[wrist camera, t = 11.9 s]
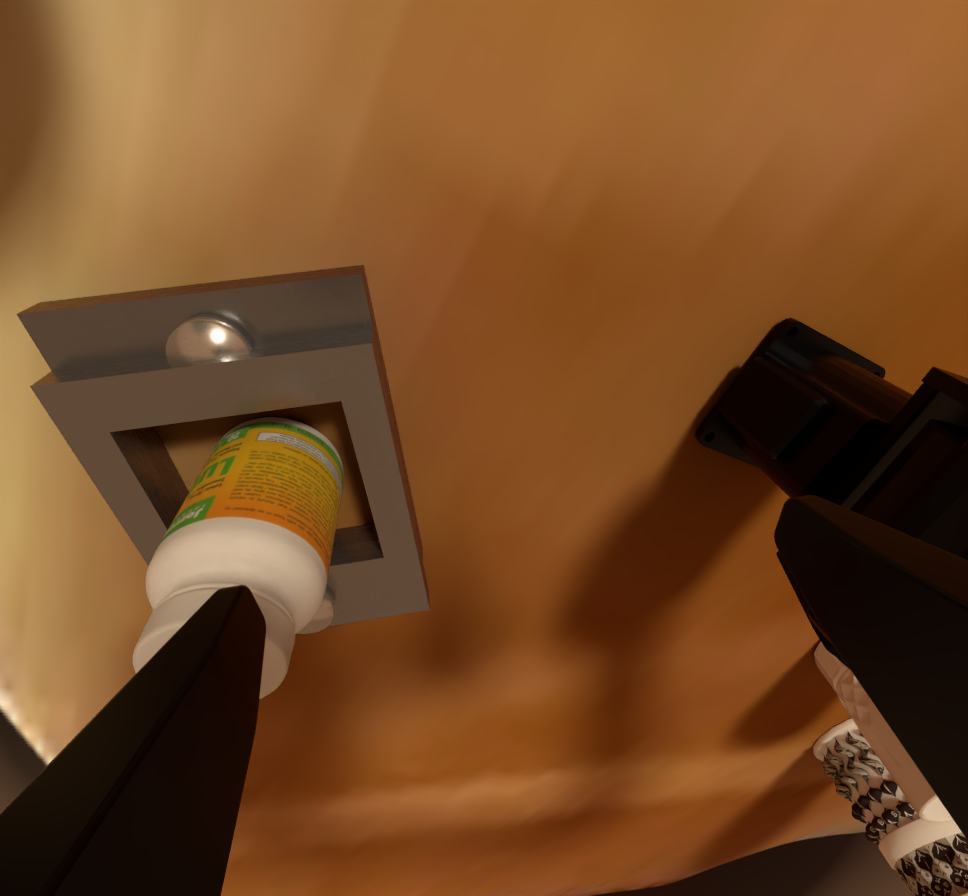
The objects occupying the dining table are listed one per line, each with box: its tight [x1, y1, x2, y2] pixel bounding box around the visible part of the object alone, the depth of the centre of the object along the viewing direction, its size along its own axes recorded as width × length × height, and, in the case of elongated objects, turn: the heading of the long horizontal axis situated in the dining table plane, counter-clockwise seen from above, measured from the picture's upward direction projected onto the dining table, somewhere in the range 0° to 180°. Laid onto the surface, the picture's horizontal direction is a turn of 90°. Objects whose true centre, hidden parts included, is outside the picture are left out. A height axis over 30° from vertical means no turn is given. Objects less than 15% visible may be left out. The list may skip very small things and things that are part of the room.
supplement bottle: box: [132, 417, 344, 699], centre depth 18 cm, size 5×5×10 cm
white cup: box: [814, 641, 954, 822], centre depth 32 cm, size 8×8×10 cm
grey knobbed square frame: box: [17, 265, 430, 634], centre depth 20 cm, size 16×11×3 cm
